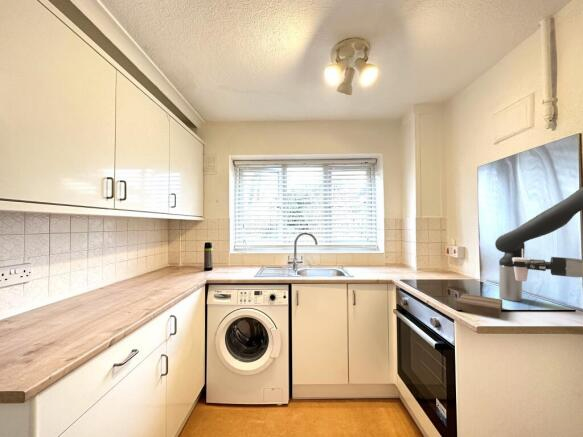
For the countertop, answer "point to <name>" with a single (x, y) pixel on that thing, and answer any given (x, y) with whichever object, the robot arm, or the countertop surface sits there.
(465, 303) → the plinth
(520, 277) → the smoothie
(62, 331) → the countertop surface
